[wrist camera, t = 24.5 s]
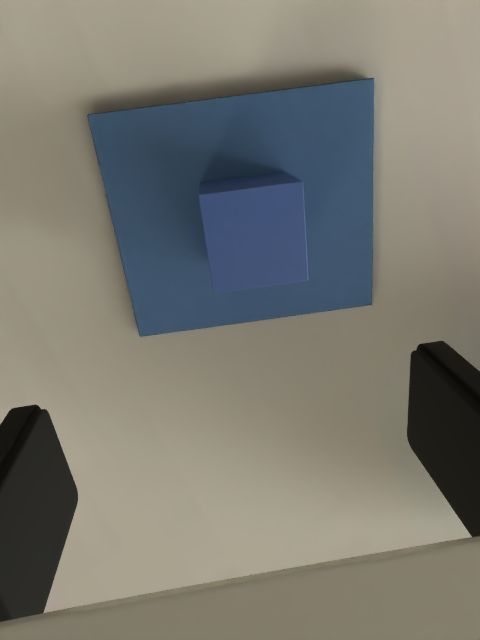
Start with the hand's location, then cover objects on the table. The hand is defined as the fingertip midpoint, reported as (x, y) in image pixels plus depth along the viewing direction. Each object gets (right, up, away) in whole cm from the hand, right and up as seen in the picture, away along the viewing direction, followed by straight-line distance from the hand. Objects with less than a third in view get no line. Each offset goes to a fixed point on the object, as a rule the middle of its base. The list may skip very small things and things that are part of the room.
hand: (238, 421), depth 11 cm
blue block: (0, +8, +12) cm, 15 cm away
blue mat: (0, +8, +13) cm, 15 cm away
